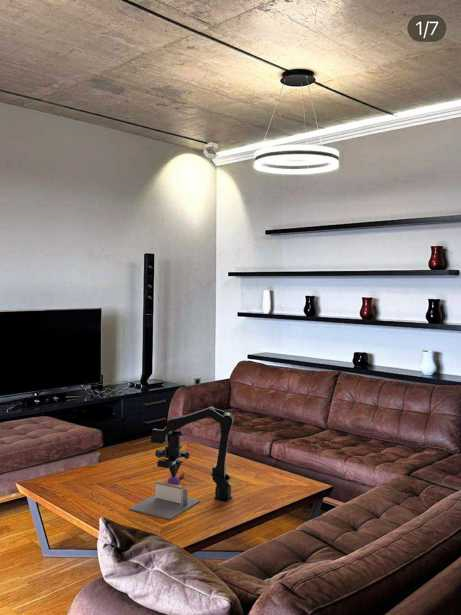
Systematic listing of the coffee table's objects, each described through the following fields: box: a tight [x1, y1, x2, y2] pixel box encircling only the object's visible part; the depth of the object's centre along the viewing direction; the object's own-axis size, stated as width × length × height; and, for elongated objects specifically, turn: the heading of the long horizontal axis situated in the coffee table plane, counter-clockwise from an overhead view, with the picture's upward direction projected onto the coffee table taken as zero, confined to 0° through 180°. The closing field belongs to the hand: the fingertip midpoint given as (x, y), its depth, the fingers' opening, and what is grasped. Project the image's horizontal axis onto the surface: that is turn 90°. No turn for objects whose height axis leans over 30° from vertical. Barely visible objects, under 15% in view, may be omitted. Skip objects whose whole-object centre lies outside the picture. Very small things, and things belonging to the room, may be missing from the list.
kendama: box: [166, 469, 186, 486], centre depth 295 cm, size 6×6×20 cm
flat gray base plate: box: [128, 487, 201, 521], centre depth 265 cm, size 22×24×8 cm
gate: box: [155, 480, 184, 503], centre depth 269 cm, size 14×2×7 cm, turn 61°
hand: (173, 477), depth 278 cm, fingers closed
